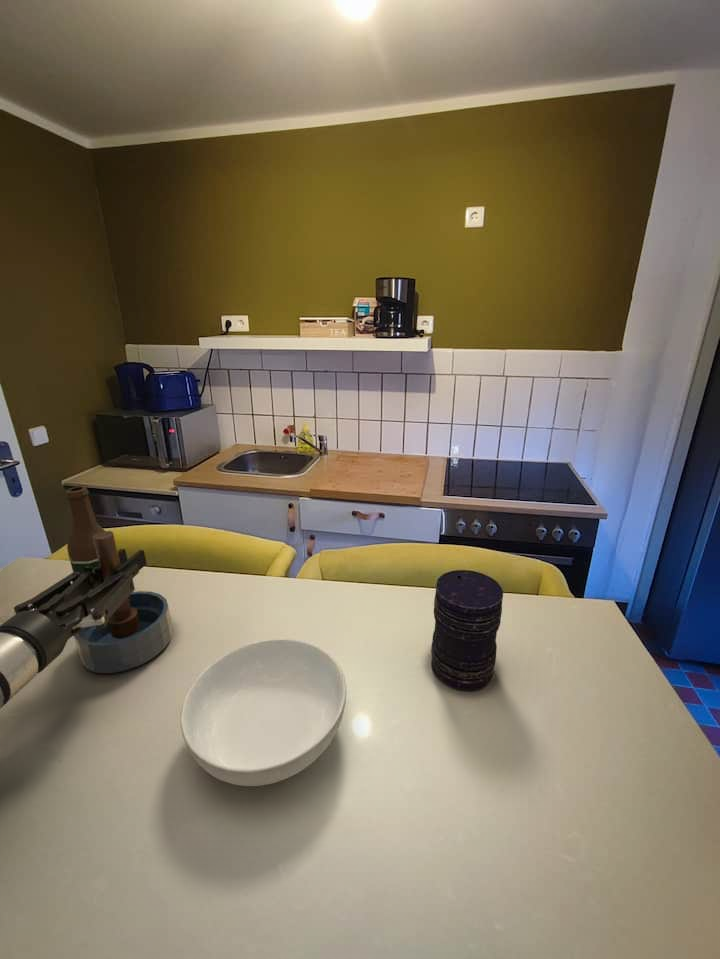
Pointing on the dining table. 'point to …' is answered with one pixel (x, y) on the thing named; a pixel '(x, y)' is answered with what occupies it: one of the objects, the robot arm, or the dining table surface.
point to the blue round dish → (134, 650)
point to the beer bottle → (82, 531)
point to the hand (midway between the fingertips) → (133, 556)
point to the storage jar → (465, 629)
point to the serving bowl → (263, 711)
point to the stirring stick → (125, 616)
